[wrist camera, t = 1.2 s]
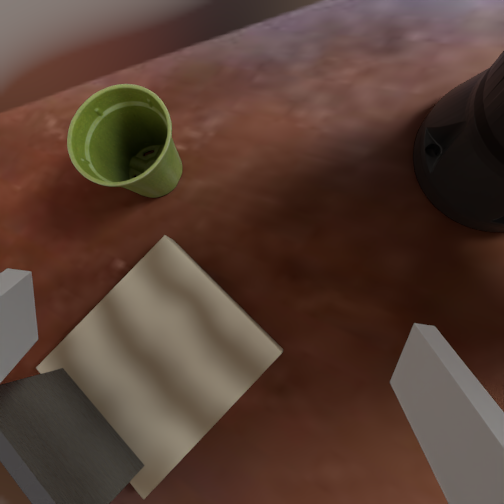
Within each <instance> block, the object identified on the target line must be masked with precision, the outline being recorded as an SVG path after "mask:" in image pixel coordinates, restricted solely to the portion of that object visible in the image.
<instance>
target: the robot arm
mask: <svg viewBox="0 0 504 504" xmlns="http://www.w3.org/2000/svg"><path fill="white" fill-rule="evenodd" d="M413 161H414V168H415V173H416V176H417V179H418V182H419V184H420V186H421V188H422V190H423V191H424V193H425V195H426V196H427V197H428V199H429V200H430V201H431V202H432V203H433V204H434V205H435V206H436V207H437V208H438V209H439V210H440V211H441V212H442V213H444V214H445V215H446V216H448V217H449V218H451V219H453V220H454V221H456V222H458V223H460V224H462V225H465V226H467V227H470V228H474V229H478V230H482V231H489V232H504V51H503V53H502V54H501V55H500V56H499V57H498V59H497V60H496V61H495V62H494V64H493V65H492V66H491V67H490V68H488V69H487V70H485V71H483V72H481V73H480V74H478V75H476V76H474V77H473V78H471V79H469V80H467V81H465V82H464V83H462V84H460V85H458V86H457V87H455V88H454V89H452V90H451V91H450V92H448V93H447V94H446V95H445V96H444V97H443V98H441V99H440V100H439V101H438V103H437V104H436V105H435V106H434V107H433V109H432V110H431V111H430V113H429V114H428V116H427V117H426V118H425V120H424V121H423V123H422V125H421V127H420V129H419V131H418V133H417V136H416V140H415V144H414V152H413ZM37 340H38V331H37V321H36V311H35V301H34V291H33V282H32V272H31V271H23V270H16V269H9V268H7V269H6V270H4V271H3V272H2V273H0V383H1V382H2V381H3V379H4V378H5V377H6V376H7V375H8V374H9V373H10V371H11V370H12V369H13V368H14V367H15V366H16V364H17V363H18V362H19V361H20V360H21V359H22V358H23V356H24V355H25V354H26V353H27V352H28V351H29V349H30V348H31V347H32V346H33V345H34V344H35V343H36V341H37ZM390 384H391V386H392V388H393V390H394V392H395V394H396V396H397V398H398V400H399V403H400V405H401V407H402V409H403V411H404V413H405V415H406V417H407V419H408V421H409V423H410V425H411V427H412V429H413V431H414V433H415V435H416V438H417V440H418V442H419V444H420V446H421V448H422V450H423V452H424V454H425V456H426V458H427V460H428V462H429V464H430V466H431V468H432V471H433V473H434V475H435V477H436V479H437V481H438V483H439V485H440V487H441V489H442V491H443V493H444V495H445V497H446V499H447V501H448V503H449V504H504V412H503V411H502V410H501V408H500V407H499V406H498V405H497V403H496V402H495V401H494V400H493V398H492V397H491V396H490V395H489V393H488V392H487V391H486V390H485V388H484V387H483V386H482V385H481V383H480V382H479V381H478V380H477V378H476V377H475V376H474V375H473V373H472V372H471V371H470V370H469V368H468V367H467V366H466V365H465V363H464V362H463V361H462V360H461V358H460V357H459V356H458V354H457V353H456V352H455V351H454V349H453V348H452V347H451V346H450V344H449V343H448V342H447V341H446V339H445V338H444V337H443V336H442V334H441V333H440V332H439V331H438V329H437V328H436V327H435V326H432V325H425V324H417V323H414V324H413V327H412V329H411V332H410V334H409V336H408V339H407V341H406V344H405V346H404V349H403V351H402V353H401V356H400V358H399V361H398V363H397V366H396V368H395V370H394V373H393V375H392V378H391V380H390Z"/></svg>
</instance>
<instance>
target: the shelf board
mask: <svg viewBox="0 0 504 504" xmlns="http://www.w3.org/2000/svg"><path fill="white" fill-rule="evenodd" d="M282 353H283V349H282V348H281V347H280V346H279V345H278V344H277V343H276V342H275V341H274V340H273V339H272V338H271V337H270V336H269V335H268V334H267V333H266V332H265V331H264V330H263V329H262V328H261V327H260V326H259V325H258V324H257V323H256V322H255V321H254V320H253V319H252V318H251V317H250V316H249V315H248V314H247V313H246V312H245V311H244V310H243V309H242V308H241V307H240V306H239V305H238V304H237V303H236V302H235V301H234V300H233V299H232V298H231V297H230V296H229V295H228V294H227V293H226V292H225V291H224V290H223V289H222V288H221V287H220V286H219V285H218V284H217V283H216V282H215V281H214V280H213V279H212V278H211V277H210V276H209V275H208V274H207V273H206V272H205V271H204V270H203V269H202V268H201V267H200V266H199V265H198V264H197V263H196V262H195V261H194V260H193V259H192V258H191V257H190V256H189V255H188V254H187V253H186V252H185V251H184V250H183V249H182V248H181V247H180V246H179V245H178V244H177V243H176V242H175V241H174V240H173V239H171V238H169V237H167V236H166V235H164V236H163V238H162V239H161V240H160V241H159V242H158V243H157V244H156V245H155V246H154V247H153V248H152V249H151V250H150V251H149V252H148V253H147V254H146V255H145V256H144V257H143V258H142V259H141V260H140V261H139V262H138V263H137V264H136V265H135V266H134V267H133V268H132V269H131V270H130V271H129V273H128V274H127V275H126V276H125V277H124V278H123V279H122V280H121V281H120V282H119V283H118V284H117V285H116V286H115V287H114V288H113V289H112V290H111V291H110V292H109V293H108V294H107V295H106V296H105V297H104V298H103V299H102V300H101V301H100V302H99V303H98V304H97V305H96V306H95V307H94V309H93V310H92V311H91V312H90V313H89V314H88V315H87V316H86V317H85V318H84V319H83V320H82V321H81V322H80V323H79V324H78V325H77V326H76V327H75V328H74V329H73V330H72V331H71V332H70V333H69V334H68V335H67V336H66V337H65V338H64V339H63V340H62V341H61V342H60V344H59V345H58V346H57V347H56V348H55V349H54V350H53V351H52V352H51V353H50V354H49V355H48V356H47V357H46V358H45V359H44V360H43V361H42V362H41V363H40V364H39V365H38V366H37V367H36V369H37V370H38V371H39V372H40V374H43V373H46V372H50V371H54V370H57V369H61V368H63V369H64V370H65V371H66V372H67V373H68V375H69V376H70V377H71V378H72V379H73V381H74V382H75V383H76V384H77V385H78V387H79V388H80V389H81V390H82V391H83V392H84V394H85V395H86V396H87V397H88V398H89V400H90V401H91V402H92V403H93V404H94V406H95V407H96V408H97V409H98V410H99V412H100V413H101V414H102V415H103V416H104V418H105V419H106V420H107V421H108V422H109V424H110V425H111V426H112V427H113V428H114V430H115V431H116V432H117V433H118V434H119V435H120V437H121V438H122V439H123V440H124V441H125V443H126V444H127V445H128V446H129V447H130V449H131V450H132V451H133V452H134V453H135V455H136V456H137V457H138V458H139V459H140V461H141V462H142V463H143V464H144V465H145V466H144V467H143V468H142V469H141V470H140V471H139V472H138V473H137V474H136V475H135V476H134V478H133V479H132V480H131V481H130V484H131V485H132V486H133V487H134V488H135V490H136V491H137V492H138V493H139V495H140V496H141V497H142V498H143V499H145V498H146V497H147V496H148V495H149V494H150V492H151V491H152V490H153V489H154V488H155V487H156V486H157V485H158V484H159V483H160V482H161V481H162V480H163V479H164V478H165V477H166V475H167V474H168V473H169V472H170V471H171V470H172V469H173V468H174V467H175V466H176V465H177V464H178V463H179V462H180V461H181V460H182V459H183V457H184V456H185V455H186V454H187V453H188V452H189V451H190V450H191V449H192V448H193V447H194V446H195V445H196V444H197V443H198V442H199V441H200V439H201V438H202V437H203V436H204V435H205V434H206V433H207V432H208V431H209V430H210V429H211V428H212V427H213V426H214V425H215V424H216V422H217V421H218V420H219V419H220V418H221V417H222V416H223V415H224V414H225V413H226V412H227V411H228V410H229V409H230V408H231V407H232V406H233V404H234V403H235V402H236V401H237V400H238V399H239V398H240V397H241V396H242V395H243V394H244V393H245V392H246V391H247V390H248V389H249V388H250V386H251V385H252V384H253V383H254V382H255V381H256V380H257V379H258V378H259V377H260V376H261V375H262V374H263V373H264V372H265V371H266V369H267V368H268V367H269V366H270V365H271V364H272V363H273V362H274V361H275V360H276V359H277V358H278V357H279V356H280V355H281V354H282Z"/></svg>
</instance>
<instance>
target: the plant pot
mask: <svg viewBox="0 0 504 504" xmlns="http://www.w3.org/2000/svg"><path fill="white" fill-rule="evenodd" d="M67 147H68V152H69V156H70V158H71V161H72V163H73V165H74V166H75V168H76V169H77V170H78V171H79V172H80V173H81V174H82V175H83V176H84V177H86V178H87V179H89V180H90V181H92V182H94V183H97V184H99V185H103V186H109V187H120V186H121V187H123V188H126V189H128V190H131V191H133V192H136V193H138V194H140V195H142V196H146V197H151V198H156V197H161V196H164V195H166V194H168V193H169V192H171V191H172V190H173V189H174V188H175V187H176V186H177V183H178V181H179V179H180V177H181V174H182V162H181V159H180V157H179V154H178V152H177V150H176V147H175V145H174V142H173V140H172V124H171V119H170V115H169V113H168V110H167V108H166V106H165V105H164V103H163V102H162V101H161V99H160V98H159V97H158V96H157V95H156V94H154V93H153V92H152V91H150V90H148V89H146V88H144V87H141V86H138V85H132V84H120V85H114V86H110V87H108V88H105V89H103V90H101V91H99V92H97V93H95V94H94V95H92V96H91V97H90V98H88V99H87V100H86V101H85V102H84V103H83V104H82V105H81V107H80V108H79V109H78V110H77V112H76V114H75V116H74V117H73V119H72V121H71V124H70V127H69V130H68V137H67ZM150 150H154V153H151V154H148V155H146V156H145V157H143V154H144V153H146V152H147V151H150ZM134 175H136V177H135V178H134Z"/></svg>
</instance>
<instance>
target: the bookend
mask: <svg viewBox="0 0 504 504" xmlns="http://www.w3.org/2000/svg"><path fill="white" fill-rule="evenodd" d="M0 461H1V463H2V464H3V465H4V467H5V468H6V469H7V471H8V472H9V473H10V475H11V476H12V477H13V479H14V480H15V481H16V483H17V484H18V486H19V487H20V488H21V490H22V491H23V492H24V493H25V495H26V496H27V497H28V499H29V500H30V502H31V503H32V504H109V503H110V502H111V501H112V500H113V499H114V498H115V497H116V496H117V495H118V494H119V493H120V492H121V491H122V489H123V488H124V487H125V486H126V485H127V484H128V483H129V482H130V481H131V480H132V479H133V478H134V476H135V475H136V474H137V473H138V472H139V471H140V470H141V469H142V468H143V467H144V466H145V465H144V464H143V463H142V462H141V461H140V459H139V458H138V457H137V456H136V455H135V453H134V452H133V451H132V450H131V449H130V447H129V446H128V445H127V444H126V443H125V441H124V440H123V439H122V438H121V437H120V435H119V434H118V433H117V432H116V431H115V430H114V428H113V427H112V426H111V425H110V424H109V422H108V421H107V420H106V419H105V418H104V416H103V415H102V414H101V413H100V412H99V410H98V409H97V408H96V407H95V406H94V404H93V403H92V402H91V401H90V400H89V398H88V397H87V396H86V395H85V394H84V392H83V391H82V390H81V389H80V388H79V387H78V385H77V384H76V383H75V382H74V381H73V379H72V378H71V377H70V376H69V375H68V373H67V372H66V371H65V370H64V369H63V368H61V369H57V370H54V371H50V372H46V373H43V374H39V375H35V376H31V377H28V378H24V379H20V380H17V381H13V382H9V383H6V384H2V385H0Z"/></svg>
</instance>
